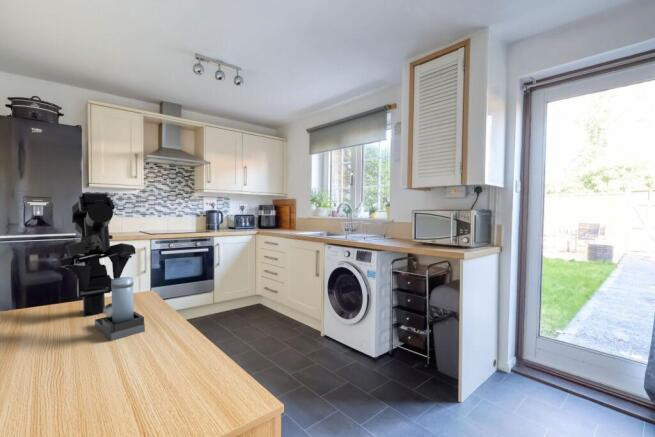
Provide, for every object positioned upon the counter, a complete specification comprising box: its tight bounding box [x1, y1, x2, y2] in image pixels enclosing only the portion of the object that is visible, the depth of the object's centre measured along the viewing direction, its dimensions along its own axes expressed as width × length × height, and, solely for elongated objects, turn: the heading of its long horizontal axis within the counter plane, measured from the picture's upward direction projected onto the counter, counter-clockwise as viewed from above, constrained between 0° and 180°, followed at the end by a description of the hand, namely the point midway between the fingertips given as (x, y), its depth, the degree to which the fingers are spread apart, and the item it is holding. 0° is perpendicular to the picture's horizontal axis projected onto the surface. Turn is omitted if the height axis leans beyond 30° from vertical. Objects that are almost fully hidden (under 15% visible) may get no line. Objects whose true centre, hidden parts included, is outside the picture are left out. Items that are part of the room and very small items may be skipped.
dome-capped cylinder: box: [111, 276, 135, 324], centre depth 86 cm, size 5×5×13 cm
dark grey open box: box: [94, 302, 146, 342], centre depth 88 cm, size 15×8×6 cm, turn 51°
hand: (100, 285), depth 88 cm, fingers open, 9 cm apart
